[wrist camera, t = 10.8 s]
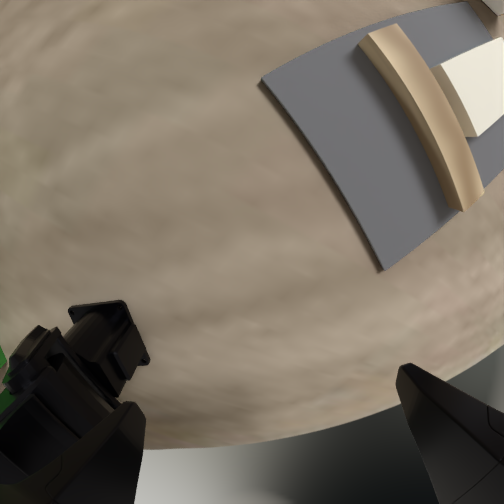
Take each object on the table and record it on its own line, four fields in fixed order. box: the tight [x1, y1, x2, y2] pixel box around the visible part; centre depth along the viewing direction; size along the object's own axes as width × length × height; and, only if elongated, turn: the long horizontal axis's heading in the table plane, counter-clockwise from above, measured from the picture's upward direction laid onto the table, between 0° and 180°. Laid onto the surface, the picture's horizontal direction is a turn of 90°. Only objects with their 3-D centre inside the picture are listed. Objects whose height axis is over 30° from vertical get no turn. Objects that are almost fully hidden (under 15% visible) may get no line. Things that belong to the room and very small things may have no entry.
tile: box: [430, 37, 504, 137], centre depth 12 cm, size 2×6×13 cm
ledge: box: [358, 23, 485, 212], centre depth 14 cm, size 3×14×2 cm, turn 35°
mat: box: [261, 1, 504, 271], centre depth 14 cm, size 26×16×1 cm, turn 126°
